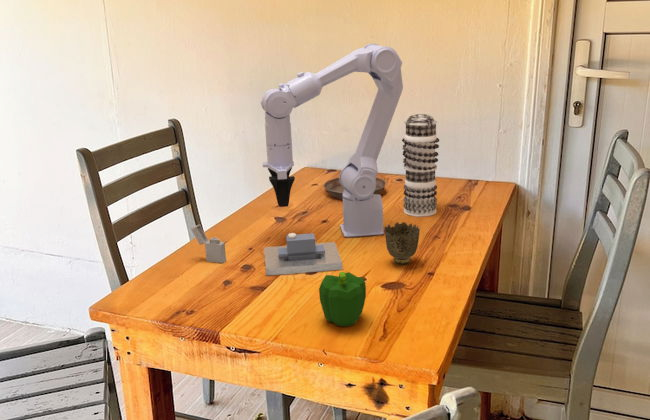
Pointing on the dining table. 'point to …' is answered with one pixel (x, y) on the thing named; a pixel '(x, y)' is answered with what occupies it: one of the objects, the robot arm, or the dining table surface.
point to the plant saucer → (337, 189)
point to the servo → (300, 247)
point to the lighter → (210, 246)
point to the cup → (402, 241)
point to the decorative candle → (420, 165)
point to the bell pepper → (342, 298)
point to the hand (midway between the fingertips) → (282, 201)
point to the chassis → (302, 261)
